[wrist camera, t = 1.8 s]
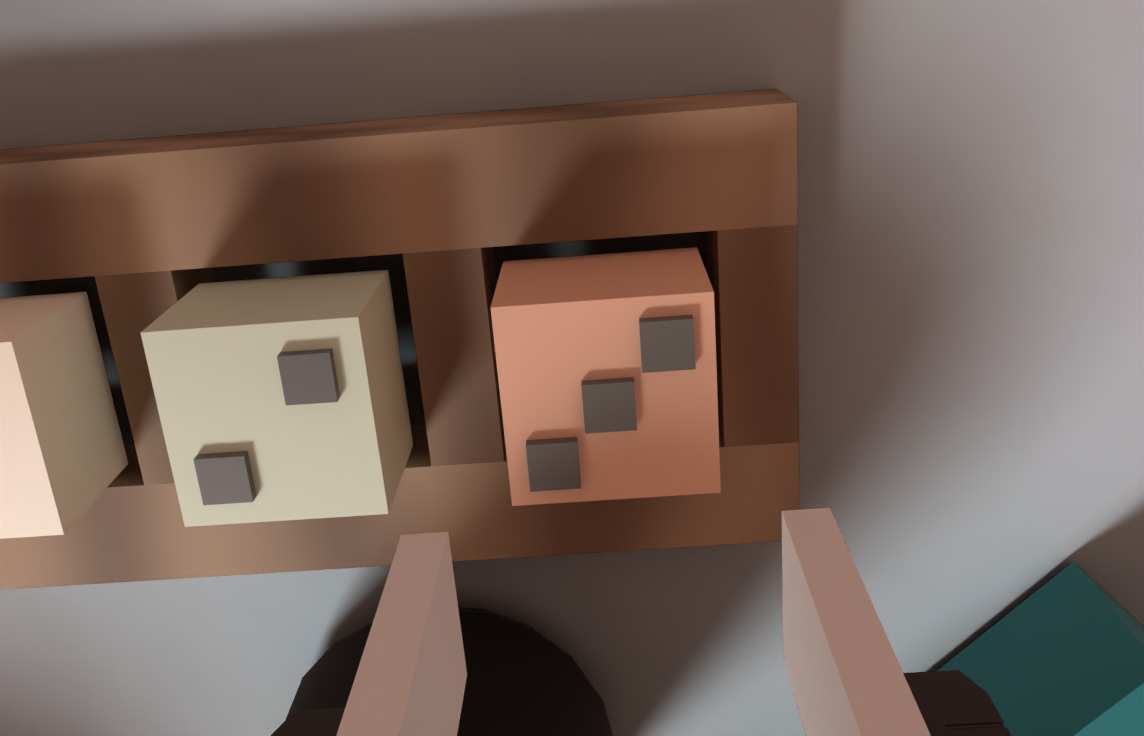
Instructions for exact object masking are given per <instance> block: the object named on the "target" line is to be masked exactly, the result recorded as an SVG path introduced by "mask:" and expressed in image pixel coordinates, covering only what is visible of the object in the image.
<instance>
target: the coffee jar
mask: <svg viewBox="0 0 1144 736" xmlns="http://www.w3.org/2000/svg"><path fill="white" fill-rule="evenodd" d="M458 610H459V617H460V625H461V632H462V640H463V647H464V655H465V662H466V670H467V678H466V684H465V690H464V696H463V702H462V708H461V714H460V720H459V726H458V732H457V736H612V733H611V729H610V725H609V722H608V718H607V714H606V710H605V707H604V703H603V700H602V699H601V697H600V696H599V695H598V693H597V692H596V690H595V689H594V688H593V686H592V685H591V683H590V682H589V681H588V679H587V678H586V676H585V675H584V674H583V672H582V671H581V669H580V668H579V667H578V665H577V664H576V662H575V661H574V660H573V658H572V657H571V656H569V655H568V654H567V653H565V652H564V651H563V650H561V649H560V648H558V647H557V646H556V645H554V644H553V643H552V642H550V641H549V640H548V639H546V638H545V637H543V636H542V635H541V634H539V633H538V632H537V631H535V630H534V629H533V628H530V627H528V626H527V625H524V624H522V623H519V622H516V621H513V620H511V619H508V618H505V617H502V616H500V615H497V614H494V613H491V612H489V611H486V610H481V609H469V608H458ZM372 624H373V622H372V623H370V624H368V625H367V626H365V627H363V628H361V629H359V630H357V631H355V632H353V633H352V634H350V635H348V636H346V637H344V638H342V639H340V640H339V641H337V642H336V643H334V644H333V645H332V647H331V648H330V649H329V650H328V651H327V652H326V653H325V654H324V655H323V656H322V657H321V658H320V659H319V660H318V662H317V663H316V664H315V665H314V666H313V667H312V668H311V669H310V670H309V671H308V672H307V673H306V674H305V675H304V677H303V678H302V680H301V683H300V685H299V688H298V690H297V693H296V695H295V698H294V700H293V703H292V705H291V708H290V710H289V713H288V716H287V718H288V717H289V716H290V715H291V714H292V713H293V712H294V711H295V710H310V709H328V708H345V707H346V704H347V701H348V698H349V695H350V692H351V689H352V686H353V683H354V680H355V676H356V673H357V670H358V667H359V664H360V661H361V658H362V655H363V652H364V648H365V645H366V642H367V639H368V636H369V633H370V630H371V627H372ZM287 718H286V719H287Z"/></svg>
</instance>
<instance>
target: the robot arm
mask: <svg viewBox="0 0 1144 736" xmlns="http://www.w3.org/2000/svg"><path fill="white" fill-rule="evenodd" d="M782 588H783V657H784V660H785V664H786V668H787V671H788V675H789V678H790V682H791V685H792V689H793V692H794V696H795V699H796V703H797V707H798V710H799V714H800V717H801V721H802V724H803V728H804V731H805V735H806V736H1011V734H1010V733H1009V731H1008V729H1007V727H1004V722H1003V720H1002V718H1001V716H1000V714H999V712H998V711H997V709H996V707H995V705H994V703H993V701H992V700H991V698H990V696H989V694H988V693H987V692H986V691H984V690H983V689H982V688H981V687H979V686H978V685H977V684H976V683H975V682H973V681H972V680H971V679H970V678H968V677H967V676H966V675H965V674H963V673H962V672H961V671H960V670H950V671H932V672H915V673H903V672H902V670H901V667H900V665H899V663H898V660H897V658H896V656H895V654H894V651H893V649H892V647H891V645H890V642H889V640H888V638H887V636H886V633H885V631H884V629H883V627H882V624H881V622H880V620H879V618H878V615H877V613H876V611H875V609H874V606H873V604H872V602H871V600H870V597H869V595H868V593H867V590H866V588H865V586H864V584H863V581H862V579H861V577H860V575H859V572H858V570H857V568H856V566H855V563H854V561H853V559H852V557H851V554H850V552H849V550H848V548H847V545H846V543H845V541H844V539H843V536H842V534H841V532H840V530H839V527H838V525H837V523H836V521H835V518H834V516H833V514H832V511H831V509H830V508H819V509H803V510H787V511H782ZM466 678H467V670H466V662H465V655H464V647H463V640H462V632H461V625H460V617H459V610H458V602H457V595H456V587H455V580H454V572H453V565H452V557H451V550H450V542H449V535H448V532H438V533H422V534H406V535H401V537H400V540H399V543H398V546H397V549H396V552H395V555H394V559H393V562H392V565H391V568H390V571H389V574H388V577H387V580H386V583H385V586H384V590H383V593H382V596H381V599H380V602H379V605H378V608H377V611H376V614H375V617H374V621H373V624H372V627H371V630H370V633H369V636H368V639H367V642H366V645H365V648H364V652H363V655H362V658H361V661H360V664H359V667H358V670H357V673H356V676H355V680H354V683H353V686H352V689H351V692H350V695H349V698H348V701H347V704H346V707H345V708H328V709H310V710H295V711H294V712H293V713H292V714H291V715H290V716H289V717H288V718H287V719H286V720H285V722H284V723H283V724H282V725H281V726H280V727H279V728H278V729H277V730H276V731H275V732H274V733H273V734H272V735H271V736H457V732H458V726H459V720H460V714H461V708H462V702H463V696H464V690H465V684H466Z"/></svg>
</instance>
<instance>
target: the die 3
mask: <svg viewBox="0 0 1144 736" xmlns="http://www.w3.org/2000/svg"><path fill="white" fill-rule="evenodd" d="M491 317H492V326H493V335H494V344H495V353H496V363H497V372H498V381H499V390H500V399H501V408H502V418H503V427H504V436H505V445H506V454H507V463H508V473H509V482H510V491H511V500H512V506H520V505H536V504H552V503H567V502H583V501H599V500H614V499H630V498H646V497H661V496H677V495H692V494H708V493H721V485H720V456H719V426H718V397H717V367H716V338H715V309H714V291H713V288H712V285H711V283H710V280H709V278H708V275H707V272H706V270H705V267H704V264H703V262H702V259H701V257H700V254H699V251H698V249H697V247H694V248H680V249H666V250H652V251H639V252H625V253H611V254H597V255H584V256H570V257H556V258H542V259H529V260H515V261H503V264H502V268H501V271H500V275H499V279H498V282H497V286H496V290H495V293H494V297H493V300H492V304H491Z"/></svg>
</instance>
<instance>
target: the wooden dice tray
mask: <svg viewBox="0 0 1144 736" xmlns="http://www.w3.org/2000/svg"><path fill="white" fill-rule="evenodd" d="M703 231H706V235H707V263H708V278H709V280H710V283H711V285H712V288H713V291H714V309H715V338H716V367H717V397H718V426H719V456H720V485H721V493H708V494H692V495H677V496H661V497H646V498H630V499H614V500H599V501H583V502H567V503H552V504H536V505H520V506H512V500H511V491H510V482H509V473H508V463H507V454H506V445H505V436H504V427H503V418H502V408H501V399H500V390H499V381H498V372H497V363H496V353H495V344H494V335H493V326H492V317H491V304H492V300H493V297H494V293H495V290H496V286H497V279H496V270H495V260H494V251H493V247H498V246H512V245H525V244H539V243H553V242H566V241H580V240H594V239H607V238H621V237H634V236H648V235H662V234H675V233H689V232H703ZM389 254H403V261H404V269H405V276H406V283H407V291H408V298H409V305H410V313H411V320H412V327H413V335H414V342H415V349H416V357H417V364H418V371H419V379H420V386H421V393H422V401H423V408H424V415H425V423H426V424H419V425H410V426H411V433H412V440H413V447H412V449H411V452H410V455H409V458H408V461H407V463H406V466H405V469H404V472H403V475H402V477H401V480H400V483H399V486H398V489H397V491H396V494H395V497H394V500H393V503H392V505H391V508H390V511H389V514H380V515H364V516H349V517H333V518H317V519H302V520H286V521H270V522H255V523H239V524H223V525H208V526H192V527H185V526H184V522H183V517H182V513H181V508H180V504H179V500H178V495H177V491H176V486H175V482H174V478H173V473H172V469H171V465H170V460H169V456H168V451H167V447H166V443H165V438H164V434H163V430H162V425H161V421H160V416H159V412H158V408H157V403H156V399H155V394H154V390H153V386H152V381H151V377H150V373H149V368H148V364H147V359H146V355H145V351H144V346H143V342H142V338H141V333H140V332H142V331H143V330H144V329H145V328H146V327H148V326H149V325H150V324H151V323H152V322H154V321H155V320H156V319H157V318H158V317H160V316H161V315H162V314H163V313H164V312H165V311H167V310H168V309H169V308H170V307H171V306H173V305H174V304H175V303H176V302H177V301H179V300H180V299H181V298H182V297H183V296H185V295H186V294H187V293H188V292H189V291H191V290H192V289H193V288H194V287H195V286H197V285H198V284H199V283H213V282H216V277H215V272H214V267H225V266H239V265H253V264H266V263H280V262H294V261H307V260H321V259H335V258H348V257H362V256H375V255H389ZM89 276H94V277H95V281H96V285H97V289H98V293H99V298H100V302H101V306H102V310H103V314H104V319H105V323H106V327H107V331H108V335H109V339H110V344H111V348H112V352H113V356H114V360H115V364H116V369H117V373H118V377H119V381H120V385H121V390H122V394H123V398H124V402H125V406H126V410H127V415H128V419H129V423H130V427H131V431H132V436H133V440H134V444H124V448H125V452H126V456H127V460H128V465H127V466H126V467H125V468H124V469H123V470H122V471H121V472H120V474H119V475H118V476H117V477H116V478H115V479H114V480H113V481H112V482H111V483H110V485H109V486H108V487H107V488H106V489H105V490H104V491H103V492H102V493H101V494H100V496H99V497H98V498H97V499H96V500H95V501H94V502H93V503H92V504H91V505H90V507H89V508H88V509H87V510H86V511H85V512H84V513H83V514H82V515H81V516H80V518H79V519H78V520H77V521H76V522H75V523H74V524H73V525H72V526H71V527H70V529H69V530H68V531H67V532H66V533H65V534H64V535H51V536H36V537H20V538H5V539H0V590H2V589H18V588H34V587H50V586H66V585H82V584H98V583H114V582H131V581H147V580H163V579H179V578H195V577H211V576H227V575H243V574H259V573H275V572H292V571H308V570H324V569H340V568H356V567H372V566H388V565H392V562H393V559H394V555H395V552H396V549H397V546H398V543H399V540H400V537H401V535H406V534H422V533H438V532H448V535H449V542H450V550H451V557H452V562H453V561H469V560H485V559H501V558H517V557H533V556H549V555H565V554H581V553H598V552H614V551H630V550H646V549H662V548H678V547H694V546H710V545H726V544H743V543H759V542H775V541H782V511H787V510H799V392H798V226H797V103H796V102H795V101H794V100H792V99H791V98H789V97H788V96H786V95H785V94H783V93H782V92H780V91H779V90H777V89H768V90H755V91H743V92H730V93H717V94H704V95H692V96H679V97H666V98H653V99H640V100H628V101H615V102H602V103H589V104H576V105H564V106H551V107H538V108H525V109H513V110H500V111H487V112H474V113H461V114H449V115H436V116H423V117H410V118H398V119H385V120H372V121H359V122H346V123H334V124H321V125H308V126H295V127H283V128H270V129H257V130H244V131H231V132H219V133H206V134H193V135H180V136H167V137H155V138H142V139H129V140H116V141H104V142H91V143H78V144H65V145H52V146H40V147H27V148H14V149H1V150H0V283H7V282H21V281H35V280H48V279H62V278H75V277H89Z"/></svg>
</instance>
